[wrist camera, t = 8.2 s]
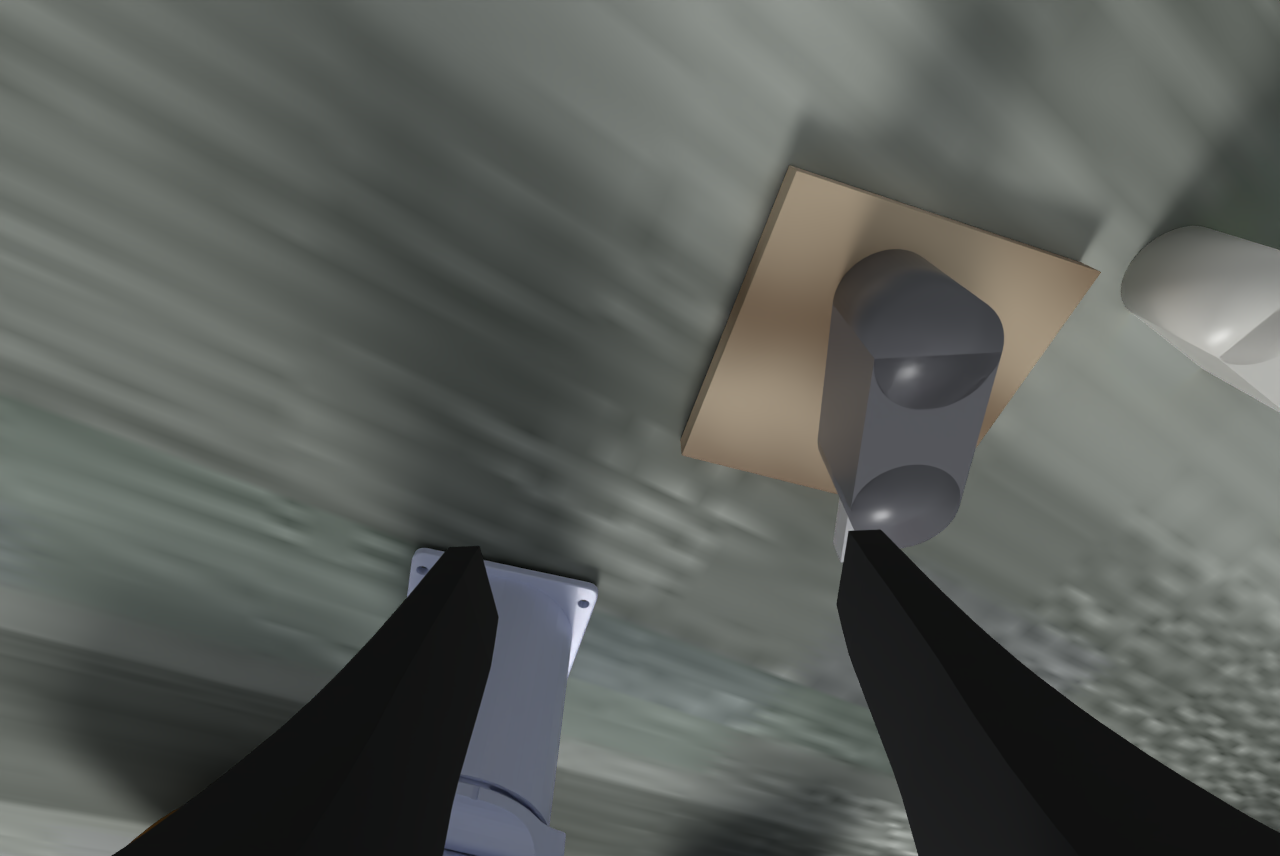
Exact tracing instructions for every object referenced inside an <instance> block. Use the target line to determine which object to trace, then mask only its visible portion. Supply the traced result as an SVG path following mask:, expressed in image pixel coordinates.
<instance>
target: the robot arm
mask: <svg viewBox="0 0 1280 856" xmlns="http://www.w3.org/2000/svg"><path fill="white" fill-rule="evenodd" d="M421 566H424V567H426V568H423V567H421ZM597 597H598V588H597V586H596V585H594V584H592V583H590V582H585V581H580V580H576V579H571V578H566V577H562V576H557V575H552V574H547V573H543V572H538V571H533V570H529V569H524V568H519V567H515V566H510V565H505V564H500V563H496V562H491V561H486V560H483V557H482V553H481V550H480V546H468V547H449V548H448V549H447V550H446V551H445V552H444V551H439V550H434V549H430V548H420V549H418V550H416V551H415V553H414V556H413V558H412V563H411V570H410V578H409V585H408V593H407V598H406V599H405V600H404V602H403V603H402V604H401V605H400V606H399V607H398V609H397V610H396V611H395V612H394V613H393V614H392V615H391V617H390V618H389V619H388V620H387V621H386V622H385V623H384V625H383V626H382V627H381V628H380V629H379V630H378V631H377V633H376V634H375V635H374V636H373V637H372V638H371V639H370V640H369V641H368V643H367V644H366V645H365V646H364V647H363V648H362V649H361V650H360V651H359V652H358V653H357V654H356V655H355V656H354V657H353V658H352V659H351V660H350V662H349V663H348V664H347V665H346V666H345V667H344V668H343V669H342V670H341V671H340V672H339V673H338V674H337V675H336V676H335V677H334V678H333V679H332V680H331V681H330V682H329V683H328V684H327V685H326V686H325V687H324V688H323V689H322V690H321V691H320V692H319V693H318V694H317V695H316V696H315V697H314V698H313V699H312V700H311V701H310V702H309V703H307V704H306V705H305V706H304V707H303V708H302V709H301V710H300V711H299V712H298V713H297V714H296V715H294V716H293V717H292V718H291V719H290V720H289V721H288V722H287V723H286V724H285V725H283V726H282V727H281V728H280V729H279V730H278V731H276V732H275V733H274V734H273V735H272V736H271V737H269V738H268V739H267V740H266V741H264V742H263V743H262V744H261V745H260V746H258V747H257V748H256V749H255V750H253V751H252V752H251V753H250V754H249V755H247V756H246V757H245V758H244V759H243V760H241V761H240V762H239V763H238V764H236V765H235V766H234V767H233V768H232V769H230V770H229V771H228V772H227V773H225V774H224V775H223V776H222V777H220V778H219V779H218V780H217V781H215V782H214V783H213V784H211V785H210V786H209V787H207V788H206V789H205V790H203V791H202V792H201V793H200V794H198V795H197V796H196V797H194V798H193V799H192V800H190V801H189V802H188V803H186V804H185V805H184V806H182V807H181V808H179V809H178V810H177V811H175V812H174V813H172V814H171V815H170V816H168V817H167V818H166V819H164V820H163V821H161V822H160V823H159V824H157V825H156V826H154V827H153V828H152V829H150V830H149V831H147V832H146V833H145V834H143V835H142V836H140V837H139V838H137V839H136V840H134V841H133V842H132V843H130V844H129V845H127V846H126V847H124V848H123V849H121V850H120V851H118V852H117V853H115V854H114V855H112V856H564V848H565V838H566V834H565V833H564V832H563V831H560V830H556V829H554V828H552V827H549V826H550V818H551V809H552V801H553V793H554V784H555V776H556V768H557V760H558V751H559V743H560V735H561V726H562V718H563V710H564V702H565V693H566V685H567V679H568V676H569V673H570V671H571V668H572V665H573V662H574V660H575V657H576V654H577V652H578V649H579V646H580V644H581V641H582V638H583V635H584V633H585V630H586V627H587V625H588V622H589V619H590V617H591V614H592V611H593V608H594V606H595V603H596V600H597ZM582 600H587V601H582ZM837 609H838V613H839V617H840V621H841V625H842V630H843V634H844V637H845V641H846V645H847V649H848V653H849V656H850V659H851V661H852V664H853V667H854V670H855V672H856V675H857V678H858V680H859V683H860V686H861V688H862V691H863V694H864V696H865V699H866V701H867V704H868V707H869V709H870V712H871V714H872V717H873V720H874V722H875V725H876V727H877V730H878V733H879V735H880V738H881V740H882V743H883V746H884V748H885V751H886V754H887V756H888V759H889V761H890V764H891V767H892V769H893V772H894V775H895V778H896V781H897V784H898V787H899V790H900V793H901V796H902V799H903V803H904V806H905V810H906V813H907V817H908V820H909V824H910V828H911V831H912V835H913V838H914V842H915V845H916V849H917V852H918V856H1280V833H1278V832H1277V831H1275V830H1273V829H1271V828H1269V827H1267V826H1266V825H1264V824H1262V823H1260V822H1258V821H1256V820H1255V819H1253V818H1251V817H1249V816H1248V815H1246V814H1244V813H1242V812H1241V811H1239V810H1237V809H1236V808H1234V807H1232V806H1231V805H1229V804H1227V803H1226V802H1224V801H1222V800H1221V799H1219V798H1217V797H1216V796H1214V795H1212V794H1211V793H1209V792H1207V791H1206V790H1204V789H1202V788H1201V787H1199V786H1197V785H1196V784H1194V783H1192V782H1191V781H1189V780H1187V779H1186V778H1184V777H1182V776H1181V775H1179V774H1178V773H1176V772H1175V771H1173V770H1171V769H1170V768H1168V767H1167V766H1165V765H1163V764H1162V763H1160V762H1159V761H1157V760H1156V759H1154V758H1152V757H1151V756H1149V755H1148V754H1146V753H1145V752H1143V751H1142V750H1140V749H1139V748H1137V747H1136V746H1134V745H1133V744H1131V743H1130V742H1128V741H1127V740H1126V739H1124V738H1123V737H1121V736H1120V735H1118V734H1117V733H1115V732H1114V731H1112V730H1111V729H1109V728H1108V727H1106V726H1105V725H1103V724H1102V723H1100V722H1099V721H1098V720H1096V719H1095V718H1093V717H1092V716H1091V715H1089V714H1088V713H1086V712H1085V711H1084V710H1082V709H1081V708H1079V707H1078V706H1077V705H1075V704H1074V703H1073V702H1071V701H1070V700H1069V699H1067V698H1066V697H1065V696H1063V695H1062V694H1061V693H1059V692H1058V691H1057V690H1056V689H1054V688H1053V687H1052V686H1050V685H1049V684H1048V683H1046V682H1045V681H1044V680H1042V679H1041V678H1040V677H1038V676H1037V675H1036V674H1035V673H1033V672H1032V671H1031V670H1030V669H1028V668H1027V667H1026V666H1025V665H1023V664H1022V663H1021V662H1020V661H1018V660H1017V659H1016V658H1015V657H1014V656H1013V655H1011V654H1010V653H1009V652H1008V651H1007V650H1006V649H1004V648H1003V647H1002V646H1001V645H1000V644H999V643H997V642H996V641H995V640H994V639H993V638H992V637H991V636H989V635H988V634H987V633H986V632H985V631H984V630H983V629H982V628H981V627H979V626H978V625H977V624H976V623H975V622H974V621H973V620H972V619H971V618H970V617H969V616H968V615H966V614H965V613H964V612H963V611H962V610H961V609H960V608H959V607H958V606H957V605H956V604H955V603H954V602H953V601H952V600H951V599H950V598H948V597H947V596H946V595H945V594H944V593H943V592H942V591H941V590H940V589H939V588H938V587H937V586H936V585H935V584H934V583H933V582H932V581H931V580H930V579H929V578H928V577H927V576H926V575H925V574H924V573H923V572H922V571H921V570H920V569H919V568H918V567H917V566H916V565H915V564H914V563H913V562H912V561H911V560H910V559H909V558H908V557H907V556H906V555H905V554H904V552H903V551H902V550H901V549H900V548H899V547H898V546H897V545H896V544H895V543H894V542H893V541H892V540H891V539H890V538H889V537H888V536H887V535H886V534H885V533H884V532H883V531H882V530H881V529H879V530H855V531H848V537H847V543H846V549H845V555H844V562H843V568H842V574H841V580H840V586H839V592H838V599H837Z"/></svg>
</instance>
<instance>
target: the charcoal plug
mask: <svg viewBox="0 0 1280 856" xmlns="http://www.w3.org/2000/svg"><path fill="white" fill-rule="evenodd" d="M1003 346H1004V330H1003V326H1002V323H1001V320H1000V318H999V316H998V315H997V314H996V312H995V311H994V310H993V309H992V308H991V307H990V306H989V305H988V304H986V303H985V302H984V301H982V300H981V299H979V298H978V297H977V296H975V295H974V294H973V293H971V292H970V291H968V290H967V289H966V288H964V287H963V286H961V285H960V284H959V283H957V282H956V281H955V280H953V279H952V278H950V277H949V276H948V275H946V274H945V273H944V272H942V271H941V270H939V269H938V268H937V267H935V266H934V265H933V264H931V263H930V262H928V261H927V260H926V259H924V258H923V257H921V256H920V255H918V254H916V253H914V252H911V251H908V250H902V249H890V250H884V251H880V252H877V253H874V254H871V255H869V256H867V257H865V258H864V259H862V260H861V261H859V262H858V263H857V264H855V265H854V266H853V267H852V268H851V269H850V270H849V271H848V272H847V273H846V274H845V276H844V277H843V278H842V280H841V282H840V283H839V285H838V287H837V289H836V292H835V295H834V299H833V305H832V314H831V323H830V332H829V341H828V350H827V359H826V368H825V377H824V386H823V395H822V404H821V413H820V422H819V431H818V449H819V453H820V455H821V457H822V459H823V462H824V464H825V466H826V468H827V471H828V473H829V475H830V477H831V480H832V482H833V484H834V486H835V489H836V491H837V493H838V495H839V505H838V512H837V519H836V526H835V533H834V540H833V544H834V546H835V549H836V552H837V554H838V557H839V559H840V562H844V555H845V549H846V543H847V537H848V531H855V530H879V529H881V530H882V531H883V532H884V533H885V534H886V535H887V536H888V537H889V538H890V539H891V540H892V541H893V542H894V543H895V544H896V545H897V546H898V547H899V548H904V547H910V546H913V545H917V544H920V543H922V542H925V541H927V540H929V539H931V538H932V537H934V536H936V535H937V534H939V533H940V532H941V531H942V530H944V529H945V528H946V527H947V526H948V525H949V524H950V522H951V521H952V520H953V518H954V517H955V515H956V513H957V511H958V509H959V506H960V502H961V499H962V495H963V492H964V488H965V484H966V481H967V477H968V474H969V470H970V466H971V463H972V459H973V456H974V452H975V448H976V445H977V441H978V438H979V434H980V430H981V427H982V423H983V420H984V416H985V412H986V409H987V405H988V402H989V398H990V394H991V391H992V387H993V384H994V380H995V376H996V373H997V369H998V366H999V362H1000V358H1001V355H1002V351H1003Z"/></svg>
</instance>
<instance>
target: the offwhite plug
mask: <svg viewBox="0 0 1280 856" xmlns="http://www.w3.org/2000/svg"><path fill="white" fill-rule="evenodd" d="M1121 297H1122V301H1123V303H1124V305H1125V307H1126V308H1127V309H1128V310H1129V311H1130V312H1131V313H1132V314H1134V315H1135V316H1136V317H1138V318H1139V319H1140V320H1141V321H1143V322H1144V323H1145V324H1146V325H1148V326H1149V327H1150V328H1151V329H1153V330H1154V331H1155V332H1156V333H1158V334H1159V335H1160V336H1162V337H1163V338H1164V339H1165V340H1167V341H1168V342H1169V343H1170V344H1172V345H1173V346H1174V347H1175V348H1177V349H1178V350H1179V351H1181V352H1182V353H1183V354H1184V355H1186V356H1187V357H1188V358H1189V359H1191V360H1192V361H1193V362H1194V363H1196V364H1197V365H1198V366H1199V367H1201V368H1202V369H1204V370H1205V371H1207V372H1209V373H1210V374H1212V375H1214V376H1216V377H1217V378H1219V379H1221V380H1223V381H1224V382H1226V383H1228V384H1230V385H1232V386H1233V387H1235V388H1237V389H1239V390H1240V391H1242V392H1244V393H1246V394H1248V395H1249V396H1251V397H1253V398H1255V399H1256V400H1258V401H1260V402H1262V403H1264V404H1265V405H1267V406H1269V407H1271V408H1272V409H1274V410H1276V411H1278V412H1279V413H1280V250H1278V249H1275V248H1272V247H1268V246H1265V245H1262V244H1259V243H1255V242H1252V241H1249V240H1246V239H1242V238H1239V237H1236V236H1233V235H1229V234H1226V233H1223V232H1220V231H1216V230H1213V229H1210V228H1207V227H1203V226H1185V227H1181V228H1177V229H1174V230H1171V231H1169V232H1167V233H1165V234H1163V235H1161V236H1159V237H1157V238H1156V239H1154V240H1153V241H1152V242H1150V243H1149V244H1148V245H1147V246H1145V247H1144V248H1143V249H1142V250H1141V251H1140V252H1139V253H1138V254H1137V255H1136V257H1135V258H1134V259H1133V260H1132V262H1131V263H1130V265H1129V266H1128V268H1127V270H1126V272H1125V275H1124V277H1123V280H1122V284H1121Z"/></svg>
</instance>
